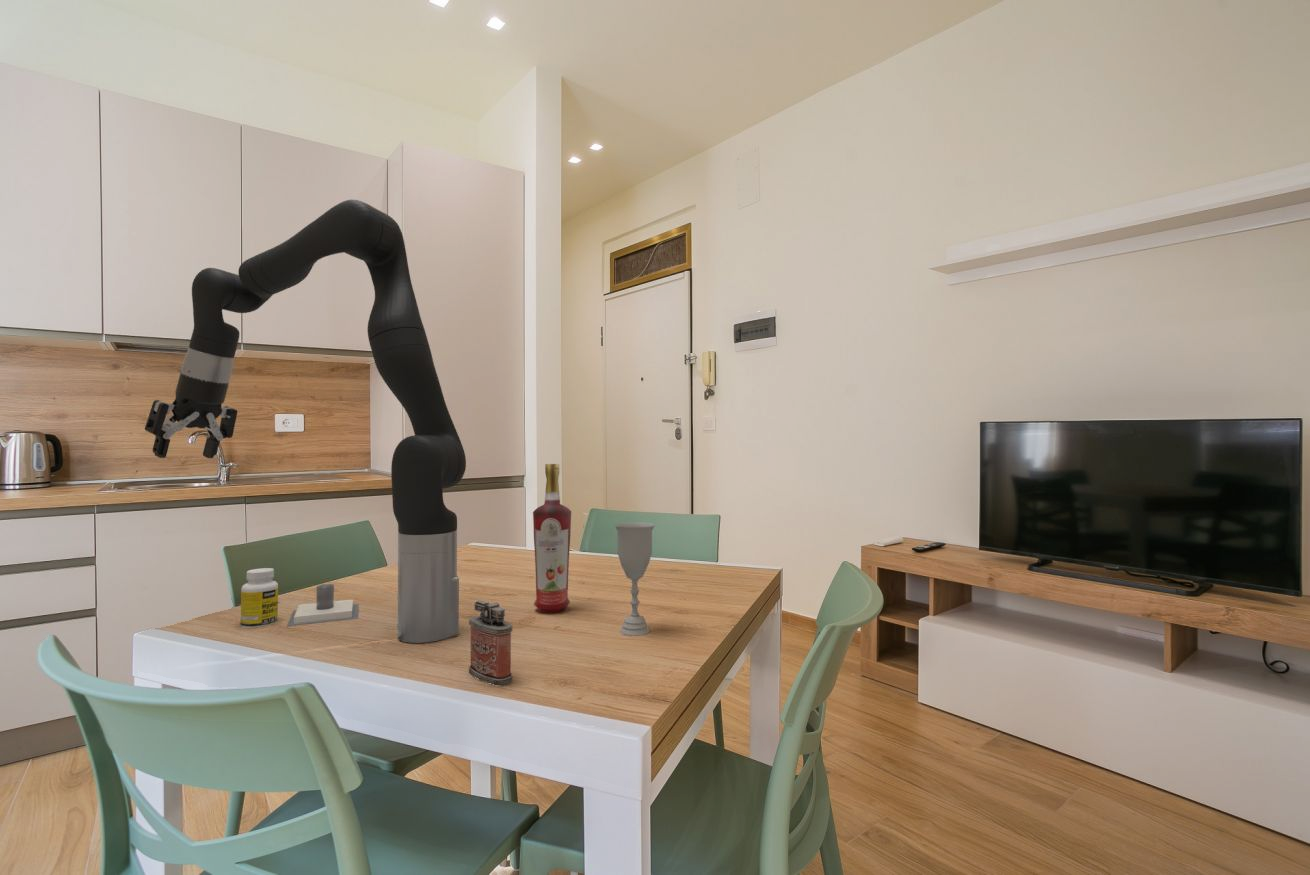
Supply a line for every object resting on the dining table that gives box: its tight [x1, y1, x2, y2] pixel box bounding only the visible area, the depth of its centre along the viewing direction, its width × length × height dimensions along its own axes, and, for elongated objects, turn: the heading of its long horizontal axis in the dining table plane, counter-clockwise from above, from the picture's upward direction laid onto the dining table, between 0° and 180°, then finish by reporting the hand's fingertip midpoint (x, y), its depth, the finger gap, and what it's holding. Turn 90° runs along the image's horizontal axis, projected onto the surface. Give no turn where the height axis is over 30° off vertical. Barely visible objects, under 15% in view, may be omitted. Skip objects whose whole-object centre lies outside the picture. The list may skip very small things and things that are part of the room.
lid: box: [294, 583, 354, 624], centre depth 110 cm, size 9×9×5 cm
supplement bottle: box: [240, 567, 279, 629], centre depth 105 cm, size 5×5×10 cm
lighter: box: [468, 599, 513, 686], centre depth 82 cm, size 8×3×10 cm, turn 48°
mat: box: [286, 603, 360, 628], centre depth 110 cm, size 11×11×1 cm
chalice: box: [614, 521, 656, 636], centre depth 102 cm, size 7×7×18 cm
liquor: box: [532, 463, 572, 614], centre depth 115 cm, size 7×7×28 cm
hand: (184, 457), depth 114 cm, fingers open, 8 cm apart
